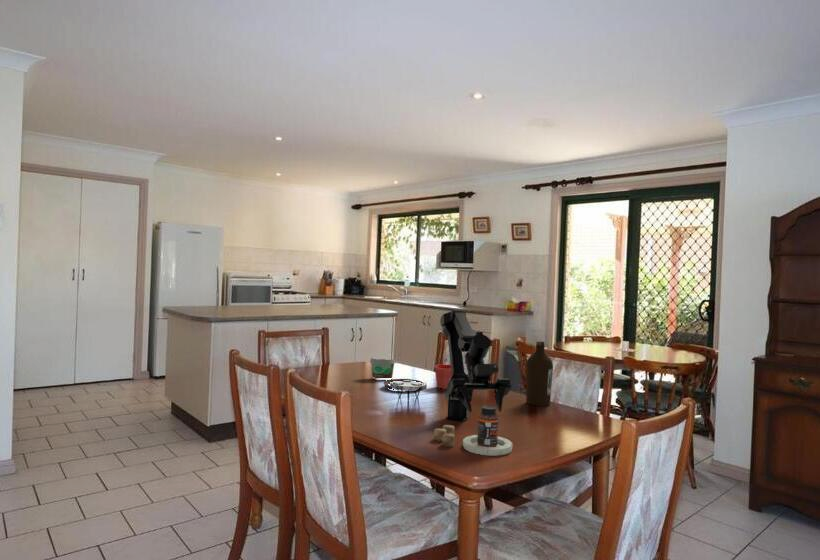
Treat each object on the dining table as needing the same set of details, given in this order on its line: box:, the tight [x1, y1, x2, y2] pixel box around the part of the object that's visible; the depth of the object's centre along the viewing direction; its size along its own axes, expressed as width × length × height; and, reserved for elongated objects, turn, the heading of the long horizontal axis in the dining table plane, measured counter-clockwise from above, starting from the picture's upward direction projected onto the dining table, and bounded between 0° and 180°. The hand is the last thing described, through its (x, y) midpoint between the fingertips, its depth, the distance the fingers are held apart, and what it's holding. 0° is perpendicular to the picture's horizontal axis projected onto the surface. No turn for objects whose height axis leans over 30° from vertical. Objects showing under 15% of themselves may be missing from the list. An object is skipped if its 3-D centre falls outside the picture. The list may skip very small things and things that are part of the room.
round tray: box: [462, 434, 513, 457], centre depth 161 cm, size 14×14×2 cm
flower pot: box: [434, 364, 452, 390], centre depth 245 cm, size 11×11×10 cm
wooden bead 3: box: [442, 433, 456, 448], centre depth 162 cm, size 4×4×3 cm
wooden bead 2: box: [442, 424, 455, 435], centre depth 171 cm, size 4×4×3 cm
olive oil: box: [525, 340, 554, 407], centre depth 221 cm, size 11×11×25 cm
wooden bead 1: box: [433, 427, 446, 442], centre depth 167 cm, size 4×4×3 cm
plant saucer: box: [382, 378, 425, 390], centre depth 240 cm, size 18×18×3 cm
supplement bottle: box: [477, 405, 499, 447], centre depth 161 cm, size 6×6×11 cm
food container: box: [369, 356, 396, 379], centre depth 259 cm, size 12×6×10 cm, turn 81°
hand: (485, 411), depth 163 cm, fingers open, 9 cm apart
